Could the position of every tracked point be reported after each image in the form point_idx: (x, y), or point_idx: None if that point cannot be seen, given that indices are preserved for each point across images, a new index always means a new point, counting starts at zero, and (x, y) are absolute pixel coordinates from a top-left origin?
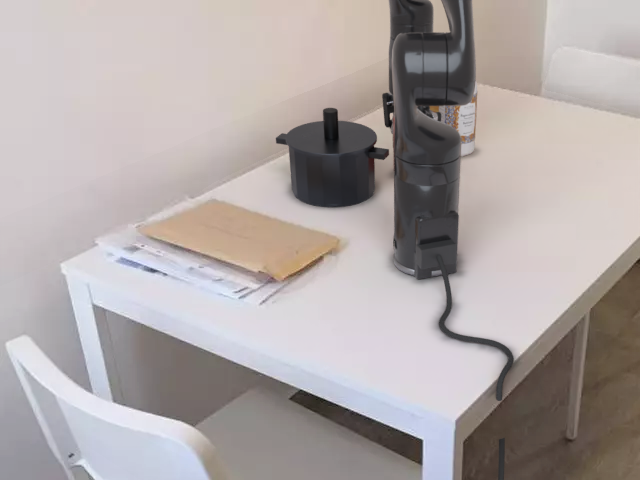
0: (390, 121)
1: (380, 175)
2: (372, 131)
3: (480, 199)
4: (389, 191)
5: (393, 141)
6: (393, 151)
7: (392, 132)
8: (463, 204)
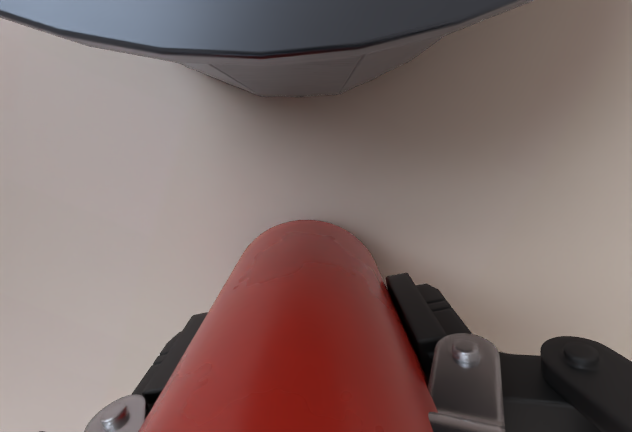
0: (579, 409)
1: (359, 167)
2: (202, 18)
3: (38, 406)
4: (188, 138)
5: (343, 291)
6: (346, 261)
7: (460, 342)
8: (8, 345)
